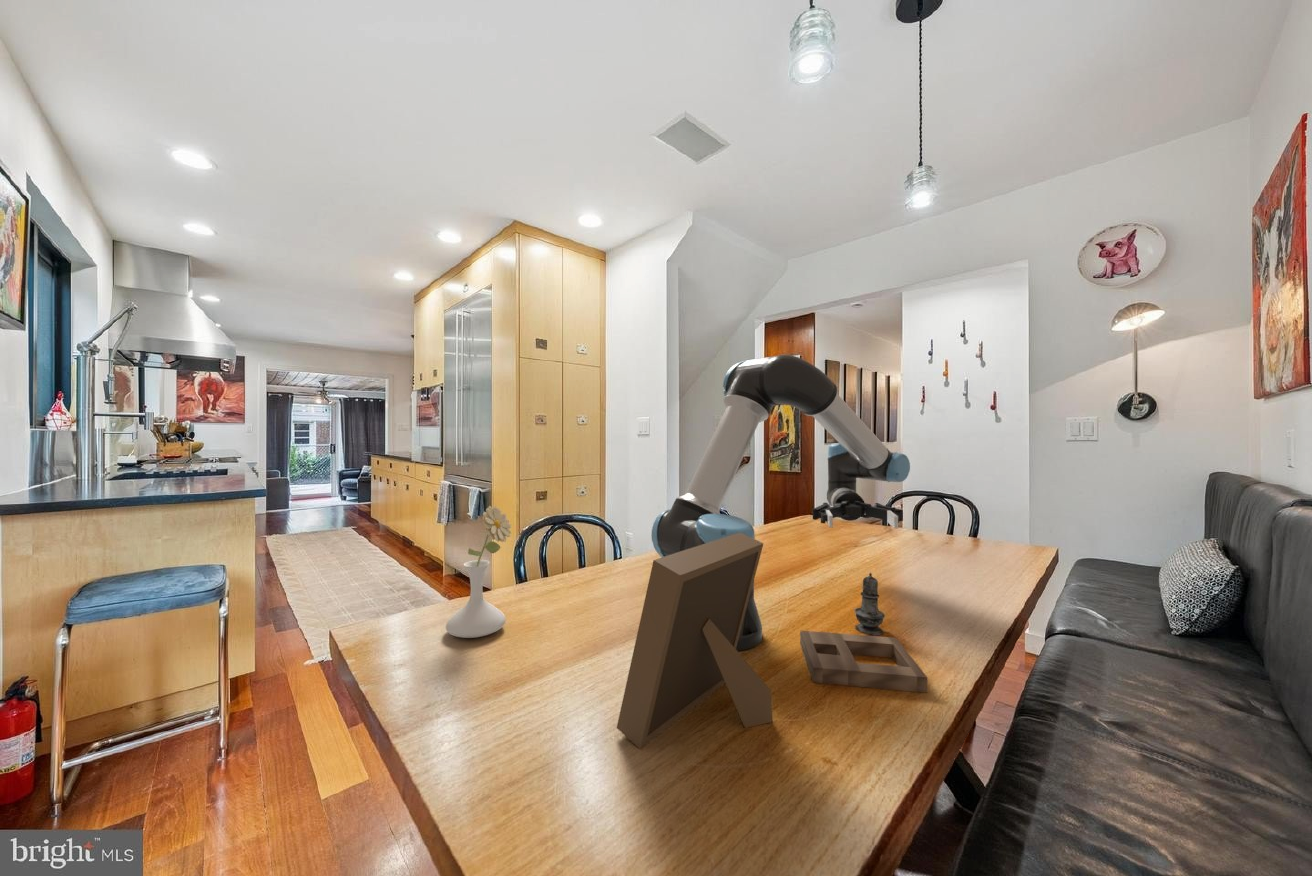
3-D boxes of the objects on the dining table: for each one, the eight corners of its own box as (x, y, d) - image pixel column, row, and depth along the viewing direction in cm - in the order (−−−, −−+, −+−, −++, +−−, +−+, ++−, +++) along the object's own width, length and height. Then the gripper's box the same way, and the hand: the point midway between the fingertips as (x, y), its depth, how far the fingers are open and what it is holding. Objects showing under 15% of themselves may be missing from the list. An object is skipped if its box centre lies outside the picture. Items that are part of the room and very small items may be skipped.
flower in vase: (466, 649, 89) (466, 515, 88) (434, 633, 95) (434, 508, 95) (524, 626, 99) (525, 506, 98) (491, 613, 106) (492, 500, 105)
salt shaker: (889, 636, 97) (891, 577, 97) (860, 635, 97) (862, 576, 97) (877, 624, 103) (878, 568, 103) (849, 623, 103) (850, 568, 103)
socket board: (812, 682, 79) (813, 667, 79) (800, 643, 93) (800, 630, 93) (926, 692, 76) (927, 677, 76) (895, 650, 90) (896, 637, 90)
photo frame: (616, 735, 65) (621, 551, 64) (705, 672, 81) (710, 526, 81) (708, 791, 55) (715, 576, 54) (788, 707, 72) (794, 542, 71)
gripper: (898, 518, 125) (924, 539, 104) (799, 517, 131) (805, 537, 110) (898, 490, 125) (924, 505, 104) (798, 490, 130) (804, 505, 110)
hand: (863, 522), depth 107 cm, fingers open, 13 cm apart
